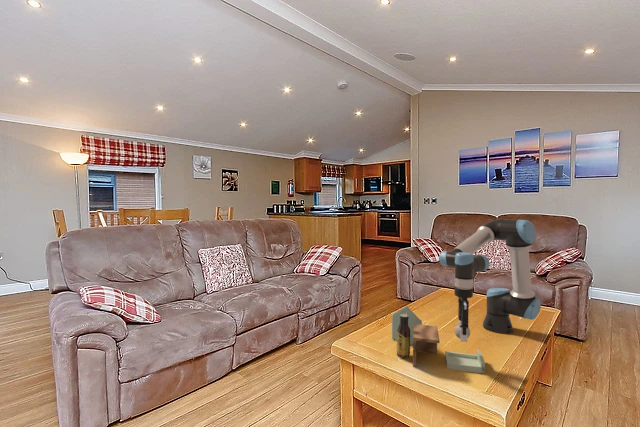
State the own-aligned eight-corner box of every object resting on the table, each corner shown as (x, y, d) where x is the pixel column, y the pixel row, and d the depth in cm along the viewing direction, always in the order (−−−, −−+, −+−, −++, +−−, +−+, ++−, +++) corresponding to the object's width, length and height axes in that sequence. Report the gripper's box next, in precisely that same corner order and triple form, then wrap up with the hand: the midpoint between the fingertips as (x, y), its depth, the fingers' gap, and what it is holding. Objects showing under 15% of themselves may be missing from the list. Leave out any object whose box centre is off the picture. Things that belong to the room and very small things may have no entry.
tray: (479, 360, 152) (479, 349, 152) (484, 373, 141) (484, 362, 141) (445, 356, 157) (445, 346, 156) (447, 368, 145) (447, 357, 145)
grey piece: (427, 343, 171) (427, 305, 171) (421, 348, 165) (421, 309, 165) (398, 335, 182) (398, 299, 181) (391, 339, 176) (392, 303, 175)
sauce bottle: (394, 353, 160) (395, 312, 159) (407, 352, 161) (407, 312, 160) (399, 359, 154) (399, 317, 153) (412, 359, 154) (412, 317, 153)
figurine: (472, 338, 149) (473, 320, 149) (467, 343, 144) (467, 325, 144) (457, 334, 153) (458, 317, 153) (452, 338, 148) (452, 321, 148)
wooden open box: (436, 353, 160) (437, 326, 160) (439, 370, 144) (439, 340, 143) (413, 350, 163) (413, 323, 163) (412, 366, 147) (413, 337, 146)
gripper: (452, 281, 158) (451, 329, 159) (457, 292, 139) (456, 346, 140) (469, 282, 156) (468, 331, 157) (476, 293, 137) (475, 348, 138)
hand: (462, 338), depth 148 cm, fingers closed on figurine, 6 cm apart
